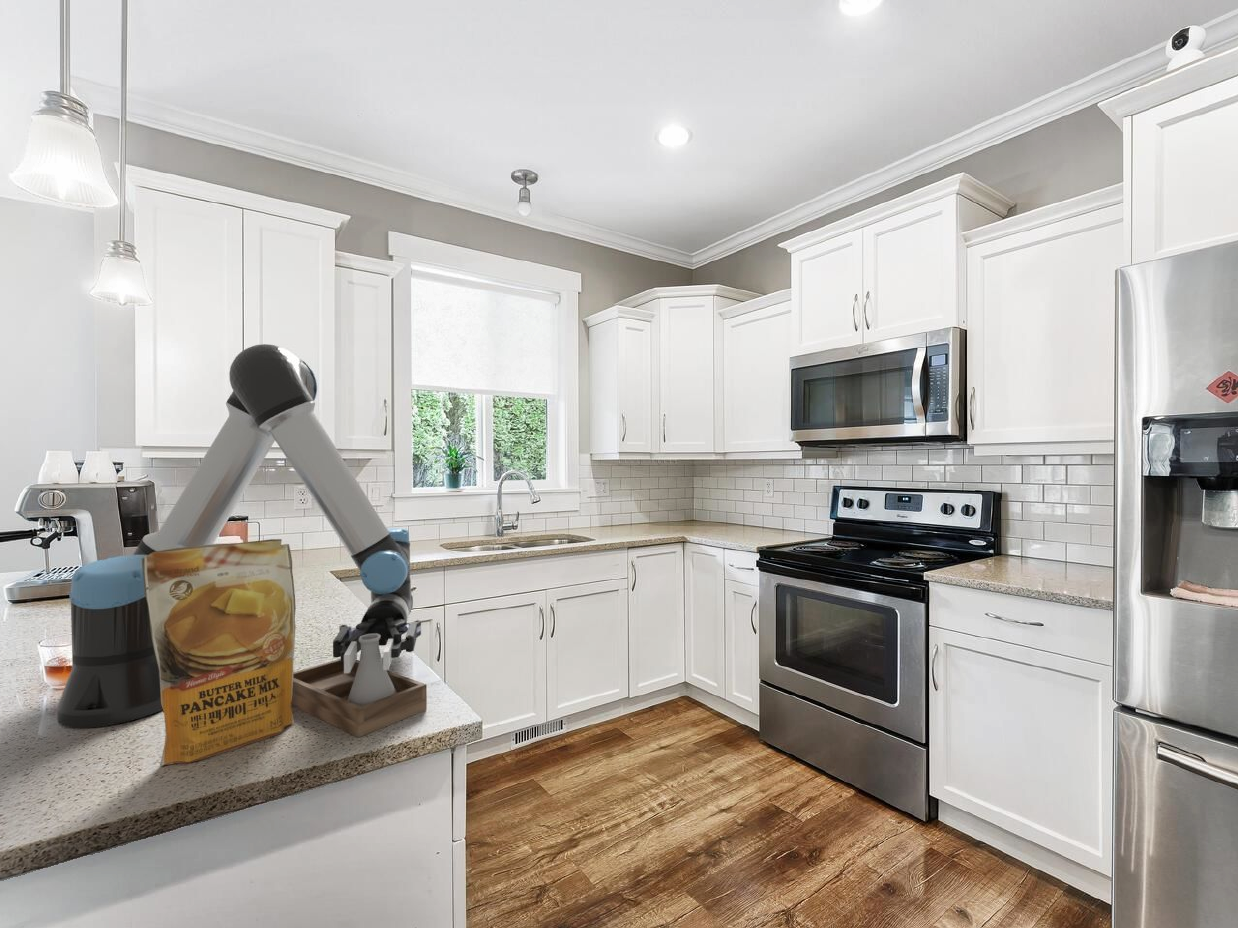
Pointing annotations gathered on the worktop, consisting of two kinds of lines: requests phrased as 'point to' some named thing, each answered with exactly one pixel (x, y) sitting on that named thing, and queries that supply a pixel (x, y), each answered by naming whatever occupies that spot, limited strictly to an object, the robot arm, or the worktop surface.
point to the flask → (370, 674)
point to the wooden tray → (327, 700)
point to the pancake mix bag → (222, 644)
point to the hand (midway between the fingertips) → (366, 662)
